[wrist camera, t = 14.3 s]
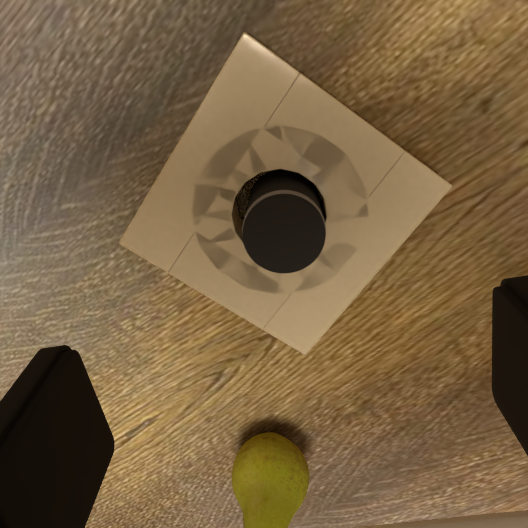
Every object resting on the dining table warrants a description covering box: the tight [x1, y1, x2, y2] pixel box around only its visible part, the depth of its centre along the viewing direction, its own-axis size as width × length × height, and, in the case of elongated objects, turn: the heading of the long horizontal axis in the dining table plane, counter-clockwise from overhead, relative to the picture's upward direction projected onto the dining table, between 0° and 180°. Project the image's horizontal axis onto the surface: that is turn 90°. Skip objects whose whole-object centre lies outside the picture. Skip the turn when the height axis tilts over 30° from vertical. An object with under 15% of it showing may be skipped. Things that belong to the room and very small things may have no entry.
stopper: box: [242, 169, 326, 273], centre depth 29 cm, size 4×4×6 cm
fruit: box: [232, 432, 309, 528], centre depth 34 cm, size 6×6×12 cm
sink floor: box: [119, 32, 452, 355], centre depth 30 cm, size 14×14×3 cm
